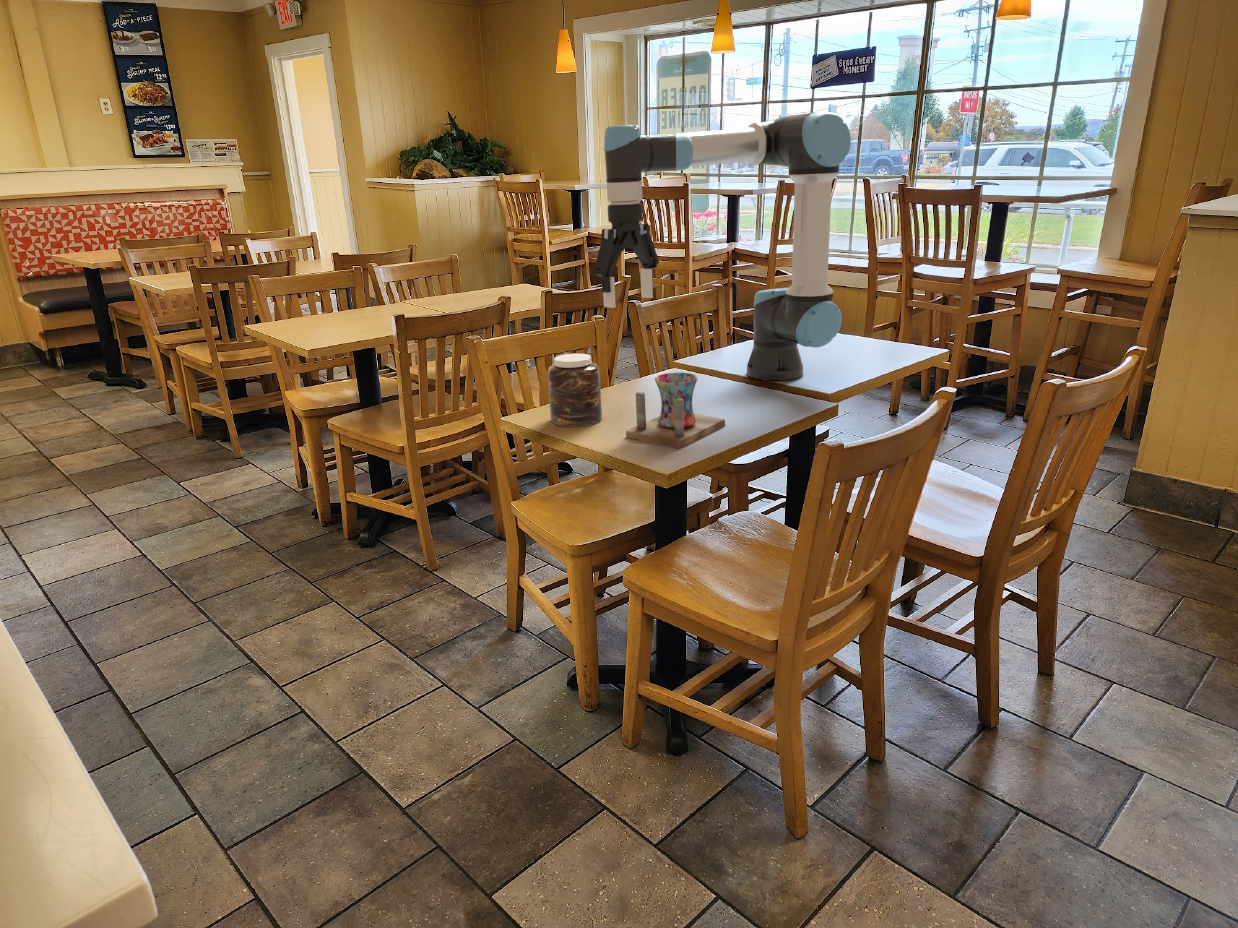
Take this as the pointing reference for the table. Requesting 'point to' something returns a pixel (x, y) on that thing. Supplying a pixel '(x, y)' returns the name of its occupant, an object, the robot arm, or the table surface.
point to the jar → (574, 391)
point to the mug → (676, 396)
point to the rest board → (671, 436)
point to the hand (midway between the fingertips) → (629, 302)
